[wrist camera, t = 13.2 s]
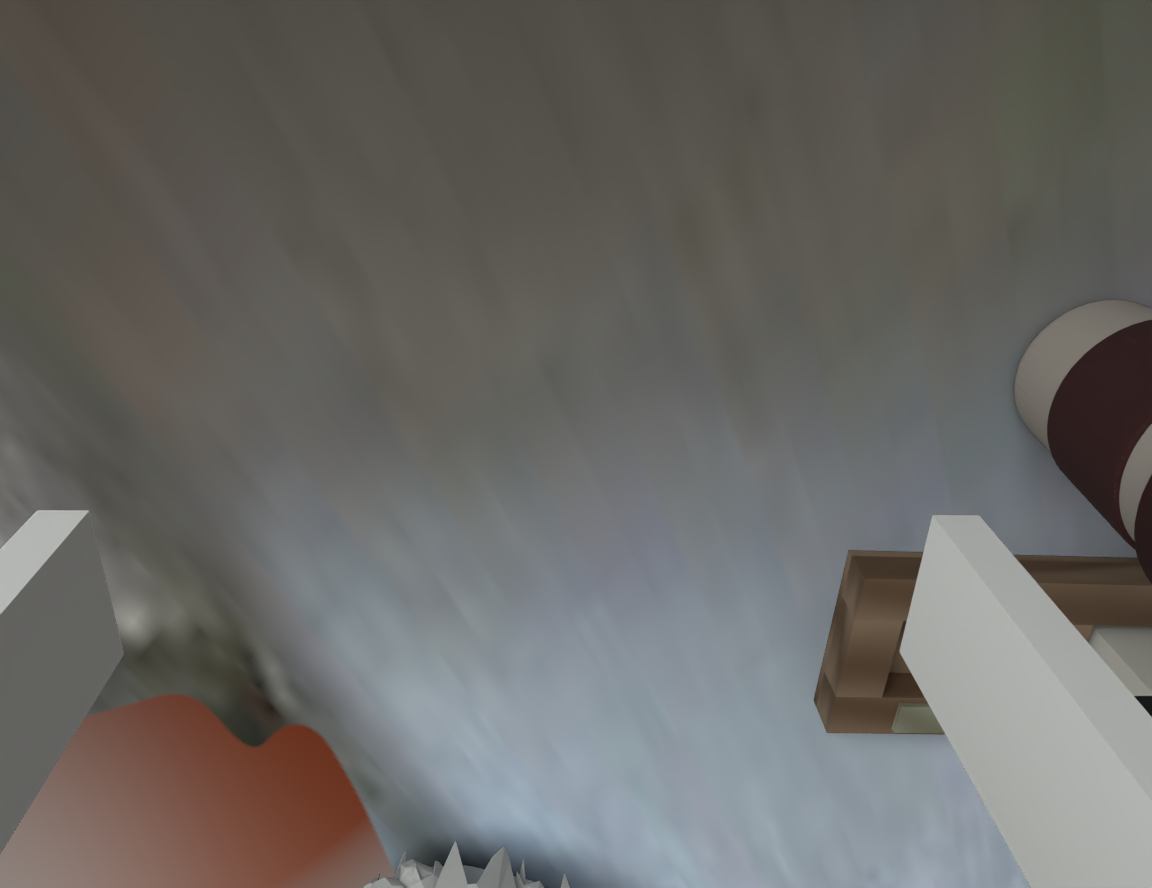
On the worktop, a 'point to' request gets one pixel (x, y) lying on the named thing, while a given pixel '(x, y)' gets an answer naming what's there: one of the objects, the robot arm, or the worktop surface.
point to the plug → (1126, 654)
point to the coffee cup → (1097, 410)
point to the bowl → (458, 874)
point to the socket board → (879, 614)
